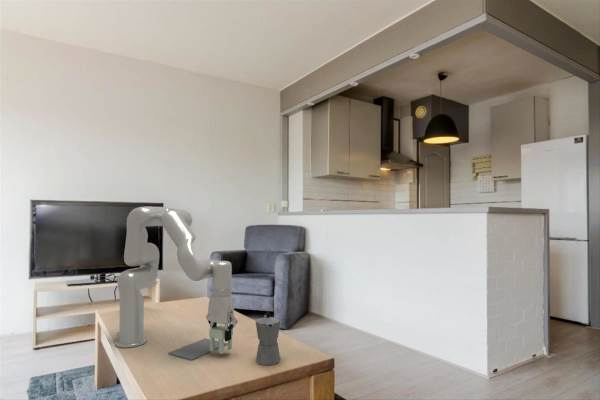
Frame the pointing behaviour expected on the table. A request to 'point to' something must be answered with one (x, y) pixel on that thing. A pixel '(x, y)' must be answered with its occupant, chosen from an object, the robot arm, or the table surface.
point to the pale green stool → (219, 334)
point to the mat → (195, 349)
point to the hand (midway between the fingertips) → (221, 338)
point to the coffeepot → (268, 340)
